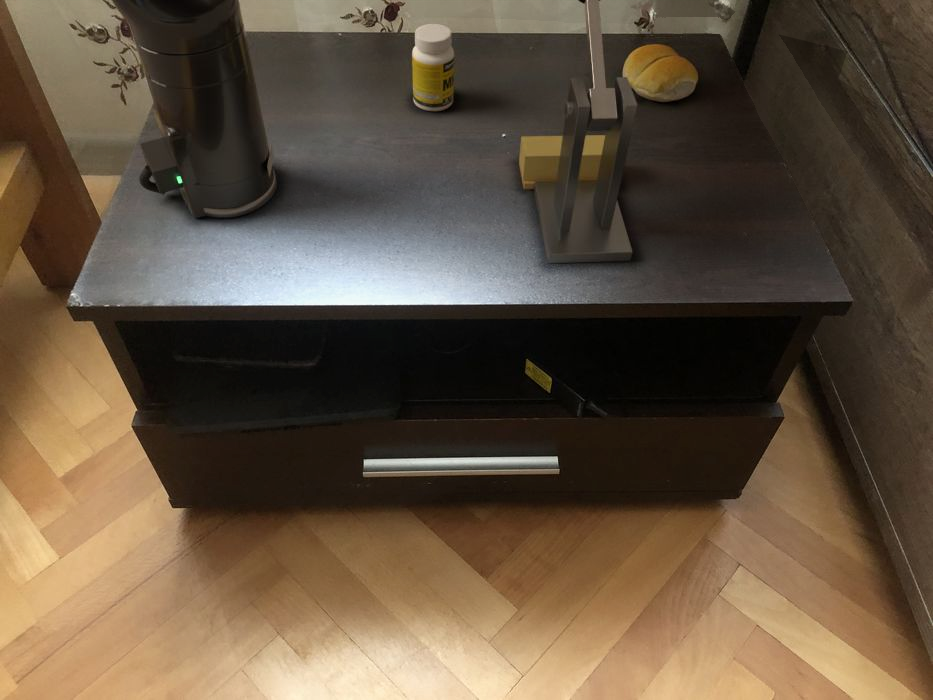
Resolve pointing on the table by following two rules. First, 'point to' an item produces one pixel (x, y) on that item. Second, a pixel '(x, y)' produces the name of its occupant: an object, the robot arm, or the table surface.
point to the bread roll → (660, 73)
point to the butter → (556, 158)
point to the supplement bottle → (433, 67)
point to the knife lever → (598, 74)
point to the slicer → (587, 186)
